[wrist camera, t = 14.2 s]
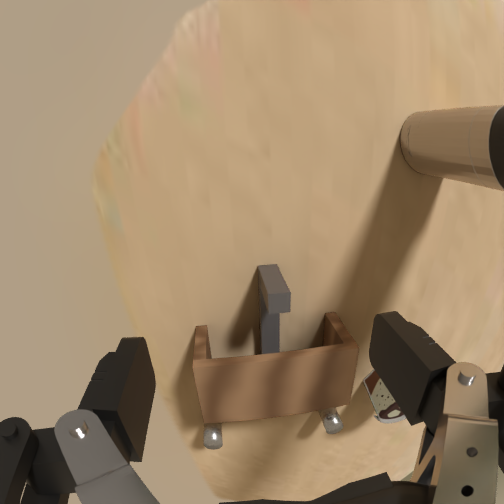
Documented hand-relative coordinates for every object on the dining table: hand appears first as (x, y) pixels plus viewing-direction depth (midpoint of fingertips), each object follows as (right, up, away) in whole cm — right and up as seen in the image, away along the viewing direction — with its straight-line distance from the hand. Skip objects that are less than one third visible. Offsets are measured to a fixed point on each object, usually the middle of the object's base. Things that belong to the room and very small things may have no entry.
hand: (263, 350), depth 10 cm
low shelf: (+2, -11, +35) cm, 37 cm away
